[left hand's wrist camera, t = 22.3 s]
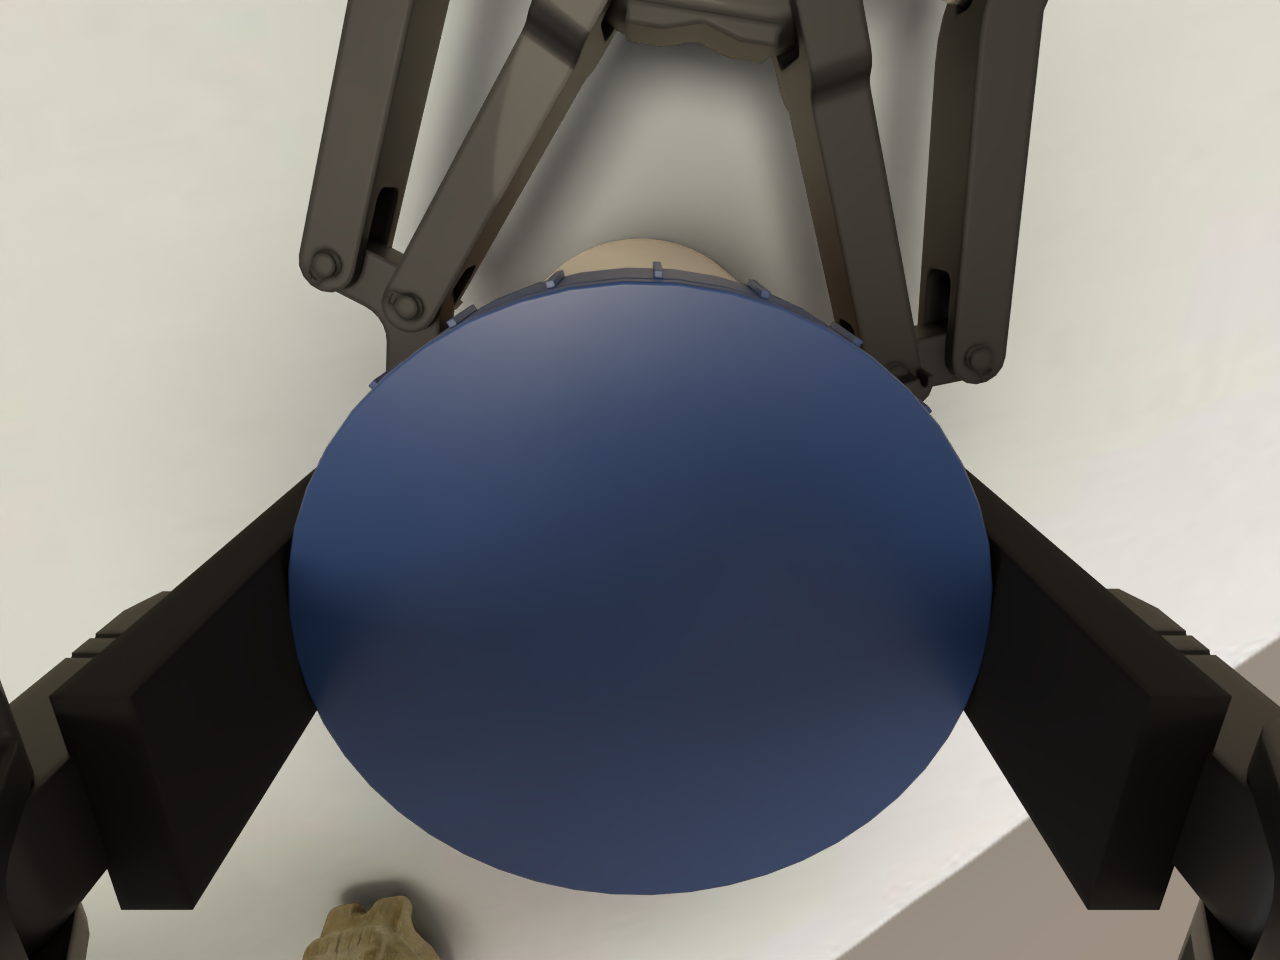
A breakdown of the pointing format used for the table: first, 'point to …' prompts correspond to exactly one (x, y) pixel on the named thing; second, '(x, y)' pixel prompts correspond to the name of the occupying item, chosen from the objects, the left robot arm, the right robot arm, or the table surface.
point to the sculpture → (371, 934)
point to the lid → (640, 583)
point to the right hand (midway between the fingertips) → (616, 590)
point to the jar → (641, 258)
